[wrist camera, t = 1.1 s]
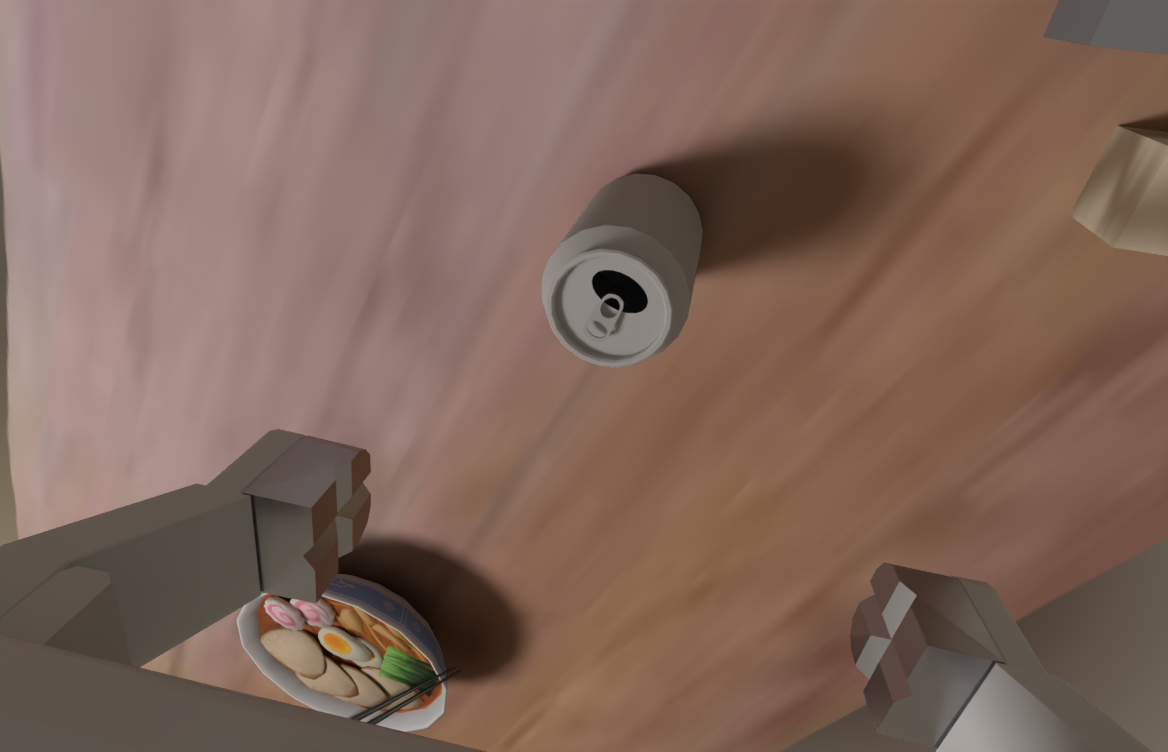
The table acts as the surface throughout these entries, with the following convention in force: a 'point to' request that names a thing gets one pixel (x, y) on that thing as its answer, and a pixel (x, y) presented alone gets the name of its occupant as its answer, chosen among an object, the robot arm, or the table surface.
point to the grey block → (1112, 24)
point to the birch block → (1129, 192)
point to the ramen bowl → (350, 653)
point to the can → (625, 272)
